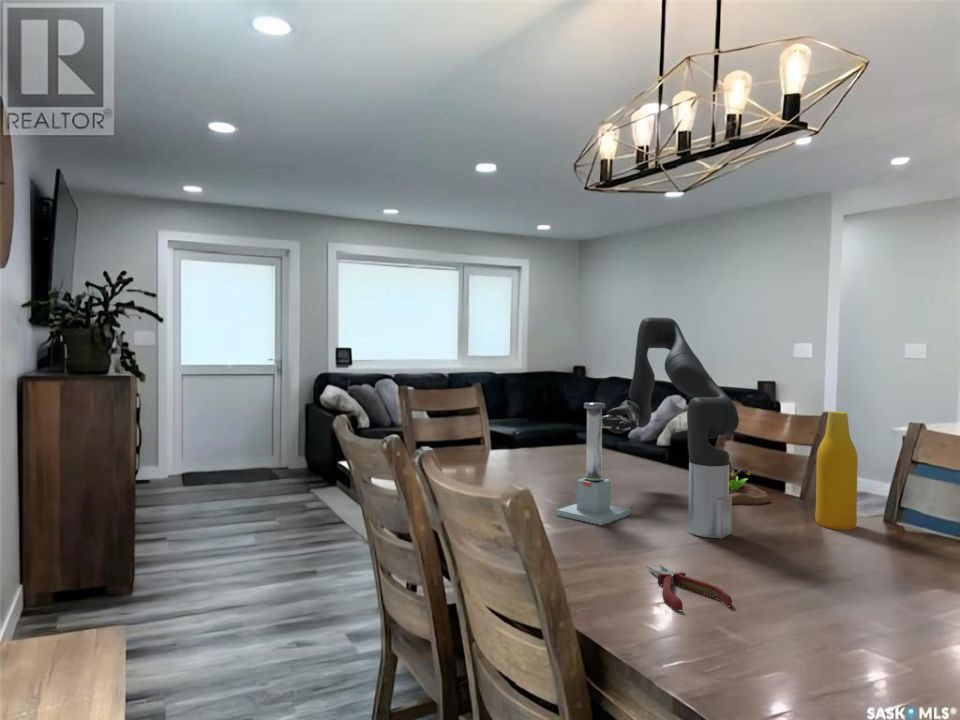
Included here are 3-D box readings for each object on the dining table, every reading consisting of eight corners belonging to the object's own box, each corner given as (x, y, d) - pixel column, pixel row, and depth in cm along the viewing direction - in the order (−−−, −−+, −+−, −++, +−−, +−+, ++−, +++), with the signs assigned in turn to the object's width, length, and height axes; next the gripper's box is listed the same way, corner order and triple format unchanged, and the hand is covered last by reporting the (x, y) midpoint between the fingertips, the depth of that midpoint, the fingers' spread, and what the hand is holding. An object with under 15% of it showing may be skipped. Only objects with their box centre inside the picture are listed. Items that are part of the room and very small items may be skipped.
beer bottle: (815, 527, 159) (817, 413, 159) (815, 518, 168) (817, 409, 167) (857, 532, 155) (860, 415, 154) (855, 523, 163) (857, 411, 163)
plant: (750, 490, 202) (751, 455, 201) (777, 505, 182) (778, 467, 182) (687, 489, 202) (688, 454, 202) (708, 505, 183) (708, 466, 182)
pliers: (679, 569, 131) (679, 557, 131) (735, 610, 111) (735, 595, 111) (627, 573, 129) (627, 560, 129) (675, 615, 109) (675, 600, 109)
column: (608, 481, 170) (609, 403, 169) (597, 485, 166) (597, 404, 165) (590, 478, 174) (591, 402, 173) (579, 482, 170) (579, 403, 169)
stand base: (629, 514, 170) (630, 479, 170) (601, 525, 160) (602, 488, 160) (586, 505, 180) (586, 472, 180) (556, 515, 170) (557, 480, 169)
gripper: (598, 405, 196) (581, 410, 182) (644, 408, 189) (630, 413, 175) (598, 429, 196) (581, 436, 182) (644, 433, 190) (630, 440, 175)
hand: (605, 425), depth 179 cm, fingers open, 8 cm apart
